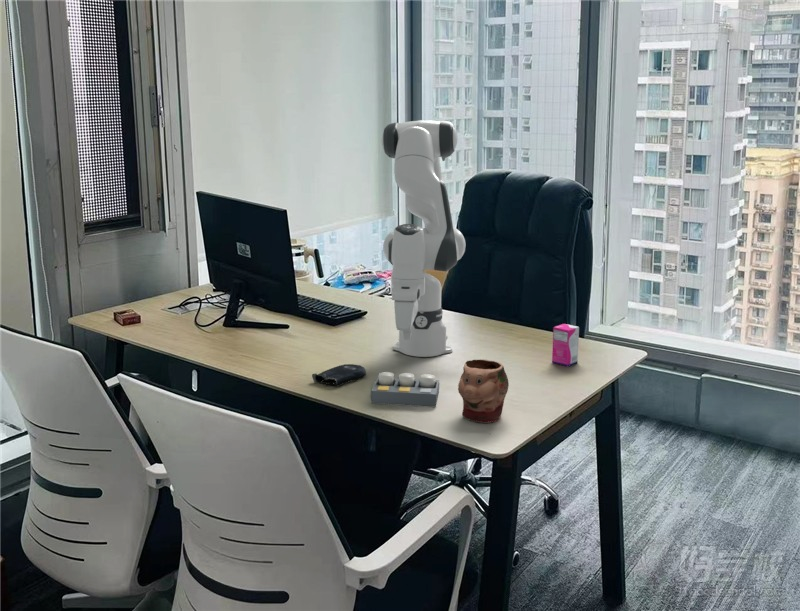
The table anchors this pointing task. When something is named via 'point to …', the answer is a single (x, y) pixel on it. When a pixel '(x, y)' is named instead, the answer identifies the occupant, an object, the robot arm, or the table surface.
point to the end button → (386, 378)
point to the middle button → (406, 379)
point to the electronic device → (340, 374)
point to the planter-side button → (427, 381)
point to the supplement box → (565, 344)
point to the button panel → (405, 394)
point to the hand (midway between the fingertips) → (407, 338)
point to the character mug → (483, 390)
